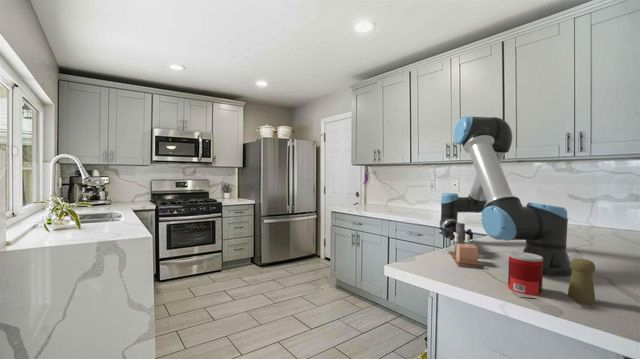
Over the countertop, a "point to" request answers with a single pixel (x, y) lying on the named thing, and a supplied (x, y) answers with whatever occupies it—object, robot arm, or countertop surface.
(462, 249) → the terracotta block
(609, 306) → the countertop surface
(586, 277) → the cork
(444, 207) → the robot arm
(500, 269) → the countertop surface
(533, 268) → the canned food
